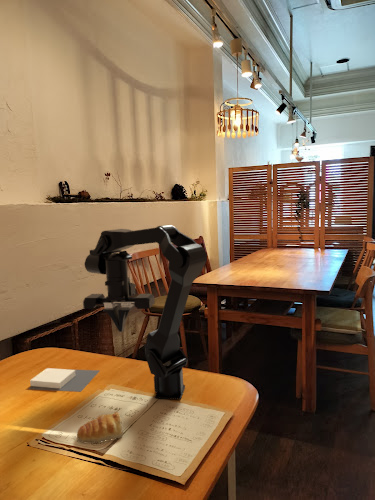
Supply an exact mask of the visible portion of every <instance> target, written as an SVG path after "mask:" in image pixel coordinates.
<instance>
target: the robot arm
mask: <svg viewBox="0 0 375 500" xmlns="http://www.w3.org/2000/svg"><path fill="white" fill-rule="evenodd" d="M155 243H157V244H158V245H159V247H160V248H159V249H160V251H161V254H162V255H163V257H164V258H165V259H166V260H167V261H168V272H169V275H170V279H171V280H170V282H169V283H170V284H169V288H168V290H167V294H166V298H165V301H164V305H163V308H162V309H163V310H162V314H161V317H160V319H159V320H160V321H159V324H158V326H157V327H158V329H156V330H153V331H151V332H148V334H147V335H146V341H145V344H144V345H143V348H144V355H145V359H146V362H147V365H148V368H149V372H150V374H151V375H153V386H154V392H155V395H154V398H155V399H162V400H163V399H164V400H181V399H182V397H183V394H184V391H185V389H186V385H185V384H184V375H183V374H184V373H183V367H186V366H187V364H188V361H189V358H188V356H187V355H186V354H185V352H184V351H183V350H182V348H181V347H180V346H181V344H180V343H181V340H180V339H181V338H180V336H179V333H178V332H179V329H180V325H181V323H182V322H181V321H182V319H183V315H184V311H185V308H186V306H187V305H186V304H187V302H188V299H189V295H190V292H191V288H192V286H193V285H192V284H193V283H194V282H195V280H196V279H197V278H198V277H199V275H200V274H201V273H202V271H203V269H204V267H205V266H206V263H207V260H208V253H206V250H205V248H204V247H203V246H202V245H201V244H199V243H197V242H196V241H195V240H194V239H193V238H191V237H189V236H188V235H186V234H184V233H183V232H181V231H180V230H179V229H178V228H177V227H175V226H174V225H172V224H163V225H157V226H156V227H151V228H149V227H148V228H143V229H136V230H131V229H127V228H116V229H110V230H109V229H107V230H103V231H101V232H100V236H99V238H98V241H97V242H96V246H95V248H94V249H90V250H89V254H88V255H87V256H86V258H85V260H84V268H85V270H86V271H87V272H88V273H90V274H98V275H105V276H106V278H105V279H106V281H104V286H106V287H107V288H106V289H107V290H106V291H107V296H105V295H104V293H90V295H88V296H86V297H84V299H83V301H82V308H83V309H86V310H87V309H88V310H90V309H91V310H92V309H95V308H96V307H97V305H103V306H104V308H103V312H104V313H107V315H108V316H109V318H110V319H111V320H112V322H113V323H114V325H115V327H116V329H117V330H118V332H119V333H123V331H124V329H125V325H126V322H127V318H128V316H129V312H130V311H131V310H133V309H134V307H135V308H136V309H138V310H148V309H151V308H152V307H153V305H154V304H155V303H156V302H155V301H156V300H155V295H154V294H153V293H139V294H137V296H136V286H137V285H136V283H133V282H131V279H130V277H129V275H128V260H132V259H133V256H132V255H131V254H130V253H128V251H127V250H126V249H129V248H133V247H134V246H137V245H148V244H155ZM132 296H133V297H132ZM134 296H135V297H134Z"/></svg>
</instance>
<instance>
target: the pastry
mask: <svg viewBox="0 0 375 500" xmlns="http://www.w3.org/2000/svg"><path fill="white" fill-rule="evenodd" d="M123 427H124V426H123V424H122V421H121V415H120V413H119V412H118V411H115V412H114V413H108V414H101V415H99V416H97V418H95V419H93V420H89V421H87V422H86V423H85V424H83V425H81V426H80V427H79V428H78V430H77V433H76V437H77V438H76V439H78V440H79V442H82V443H84V442H88V443H92V442H101V441H105V440H110V441H112V440H111V439H114V440H116V439H115V438H118V439H120V438H122V437H123V436H124V428H123ZM105 442H106V441H105ZM101 443H102V442H101Z"/></svg>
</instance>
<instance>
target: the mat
mask: <svg viewBox="0 0 375 500" xmlns="http://www.w3.org/2000/svg"><path fill="white" fill-rule="evenodd" d="M67 369H68V370H72V369H69V368H67ZM74 370H75V374H76V376H74V377H73V378H72V379H71V380H70V381H69V382H67V383H66V384H65V385H64V386H63V387H62V388H60V389H59V388H47V387H36V386H31V385H30V386H29V388H28V390H34V391H36V390H37V391H38V390H39V391H58V392H74V393H75V392H76V393H77V392H78V393H82V391H84V389H85V388H86V387H87V385H89V384H90V382H91V381H92V380H93V379H94V378H95V377H96V376H97V375H98V373H99V372H100V370H97V369H96V370H95V369H94V370H93V369H92V370H91V369H74Z"/></svg>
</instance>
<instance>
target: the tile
mask: <svg viewBox="0 0 375 500" xmlns="http://www.w3.org/2000/svg"><path fill="white" fill-rule="evenodd" d="M68 369H69V368H67V369H66V368H65V369H64V368H50V367H46V368H45V369H44V370H43V371H41V372H40V373H38V374H37V375H35V376H34V377H32V378H31V379H30V380H29V382H30V387H31V386H36V387H47V388H59V389H60V388H62V387H63V386H64V385H65V384H66V383H67V382H69V381H70V380H71V379H72V378H73V377H74V376H76V374H75V370H76V369H71V370H68Z"/></svg>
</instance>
